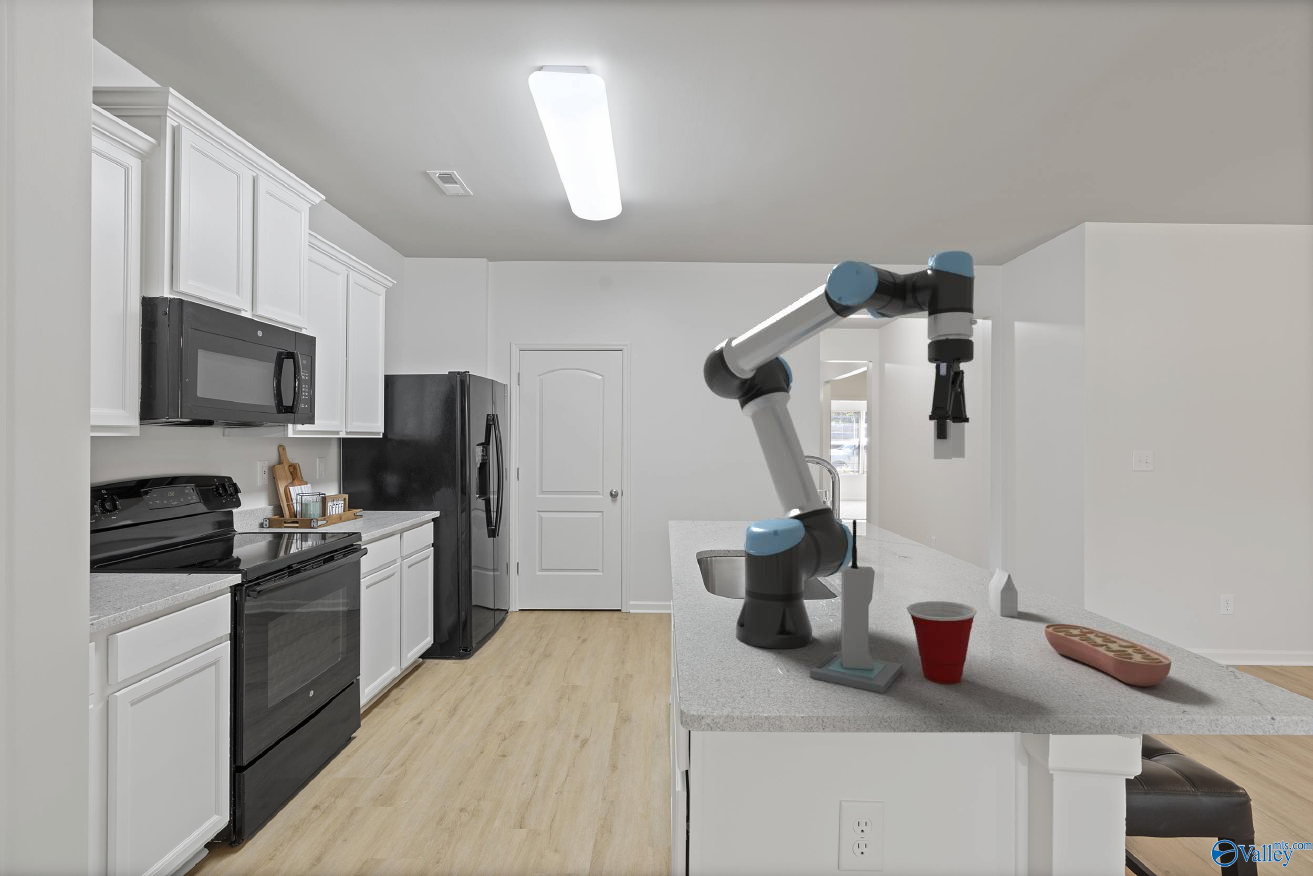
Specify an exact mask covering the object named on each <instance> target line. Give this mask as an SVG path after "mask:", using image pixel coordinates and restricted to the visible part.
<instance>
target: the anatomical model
mask: <svg viewBox="0 0 1313 876" xmlns="http://www.w3.org/2000/svg"><path fill="white" fill-rule="evenodd" d="M1043 628H1044V636H1045V638H1046V640H1047V641H1048V644H1049V645H1050V647H1052V649H1054V650H1055V652H1057V653H1059V654H1060V655H1062V656H1065V657H1067V658H1070V659H1072V660H1074V661H1075V660H1076V661H1078V662H1080V663H1083V664H1085V665H1089V666H1090V667H1093V668H1095V669H1097V670H1099V671H1101V672H1104V673H1105V674H1109V675H1110V676H1112V677H1114V678H1116V679H1118V680H1120V681H1122V682H1123V683H1126V684H1128V685H1131V686H1135V687H1141V688H1143V687H1145V688H1146V687H1151V686H1155V685H1158V684H1160V683H1161V682H1163V681H1164V680H1165V679H1166V678H1167V677H1168V675H1169V674H1170V672H1171V671H1170V670H1171V666H1172V660H1171V658H1170V657H1168V656H1166V655H1164V654H1163V653H1160V652H1157V651H1155V650H1153V649H1152V648H1148V647H1146V646H1144V645H1141V644H1139V643H1137V642H1133V641H1131V640H1130V639H1129V640H1128V639H1126V638H1122V637H1120V636H1116V635H1113V634H1111V633H1107V632H1104V631H1100V630H1097V629H1095V628H1090V627H1086V626H1081V625H1076V624H1071V623H1070V624H1069V623H1068V624H1067V623H1049V624H1046V625H1045V626H1044V627H1043Z"/></svg>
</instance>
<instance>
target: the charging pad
mask: <svg viewBox="0 0 1313 876" xmlns="http://www.w3.org/2000/svg"><path fill="white" fill-rule="evenodd" d="M872 660H873V662H874V670H858V669H845V668H844V667H843V664H842V661H841V651H840V652H838V651H833V652H831V653H830V654H828V656H826V657H825V658H824V659H823V660H821V661H820V662H818V664H816V665H815V666H813V667H812V668H811V669H810V670H809V678H811V679H816V680H820V681H825V682H830V683H834V684H837V685H838V684H839V685H843V686H847V687H853V688H857V689H860V690H861V689H862V690H867V691H870V692H875V693H881V694H884V693H885V692H886V691H888V688H889V687H891V685H892V684H893V682H894V681H895V680H896V679H897V678H898V676H899V675H900V674H902V672H903V664H902V663H898V662H892V661H886V660H882V659H877V658H872Z"/></svg>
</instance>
